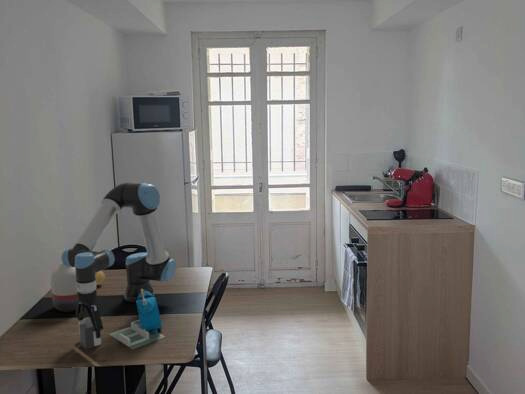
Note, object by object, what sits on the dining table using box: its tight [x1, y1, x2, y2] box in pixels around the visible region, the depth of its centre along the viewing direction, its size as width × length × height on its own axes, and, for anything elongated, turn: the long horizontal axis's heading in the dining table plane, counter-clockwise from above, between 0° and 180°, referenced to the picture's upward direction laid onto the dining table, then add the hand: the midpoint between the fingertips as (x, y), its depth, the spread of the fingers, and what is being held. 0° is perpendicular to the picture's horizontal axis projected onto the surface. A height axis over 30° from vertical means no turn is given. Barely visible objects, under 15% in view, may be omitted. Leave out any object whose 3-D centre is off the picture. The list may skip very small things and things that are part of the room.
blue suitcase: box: [135, 289, 163, 335], centre depth 226 cm, size 17×10×20 cm, turn 15°
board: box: [108, 326, 166, 350], centre depth 221 cm, size 20×16×1 cm
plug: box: [78, 321, 95, 350], centre depth 213 cm, size 5×7×10 cm
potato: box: [95, 270, 106, 287], centre depth 285 cm, size 10×14×10 cm
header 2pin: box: [130, 318, 142, 332], centre depth 228 cm, size 6×7×3 cm
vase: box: [50, 261, 78, 313], centre depth 255 cm, size 17×17×24 cm
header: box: [118, 327, 149, 347], centre depth 217 cm, size 8×10×4 cm
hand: (90, 339), depth 213 cm, fingers open, 13 cm apart
